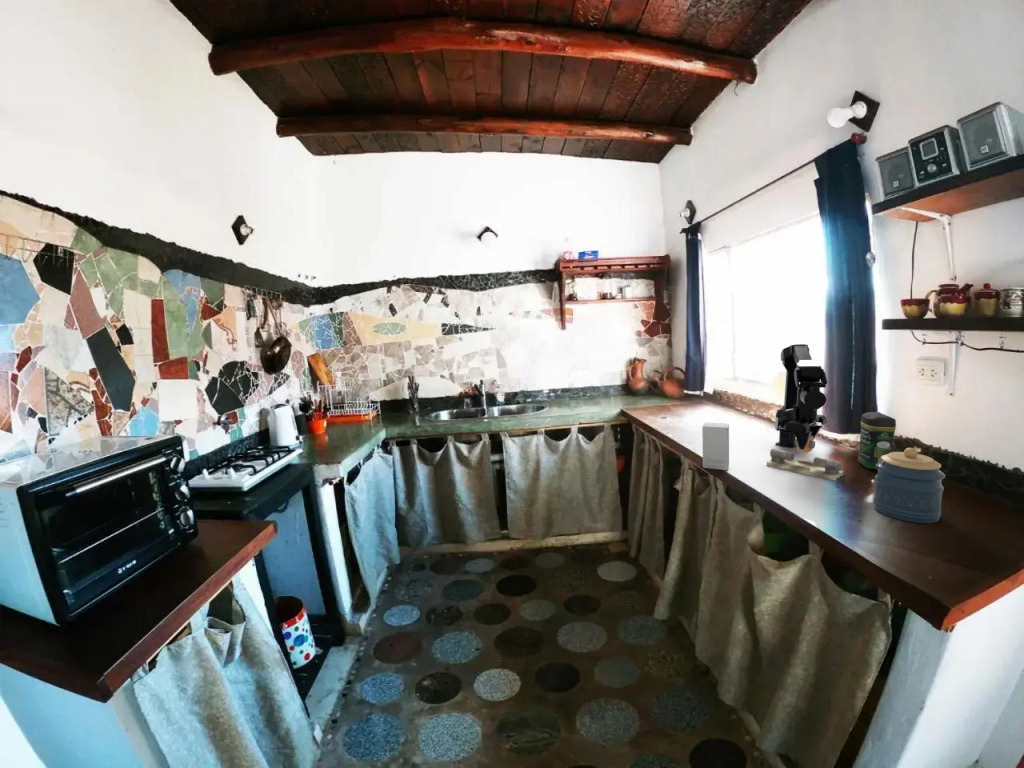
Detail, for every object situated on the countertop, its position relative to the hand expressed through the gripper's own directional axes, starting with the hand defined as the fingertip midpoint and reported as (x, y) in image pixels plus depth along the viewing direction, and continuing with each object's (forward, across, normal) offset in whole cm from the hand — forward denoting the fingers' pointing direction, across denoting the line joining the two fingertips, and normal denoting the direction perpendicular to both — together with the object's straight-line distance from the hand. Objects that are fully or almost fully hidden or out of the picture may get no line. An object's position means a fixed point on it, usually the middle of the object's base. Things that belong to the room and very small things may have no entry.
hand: (804, 447), depth 140 cm
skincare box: (+8, +18, -21) cm, 29 cm away
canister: (+8, +16, +29) cm, 34 cm away
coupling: (+1, 0, 0) cm, 1 cm away
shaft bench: (+8, 0, 0) cm, 8 cm away
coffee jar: (+8, -20, +14) cm, 26 cm away
